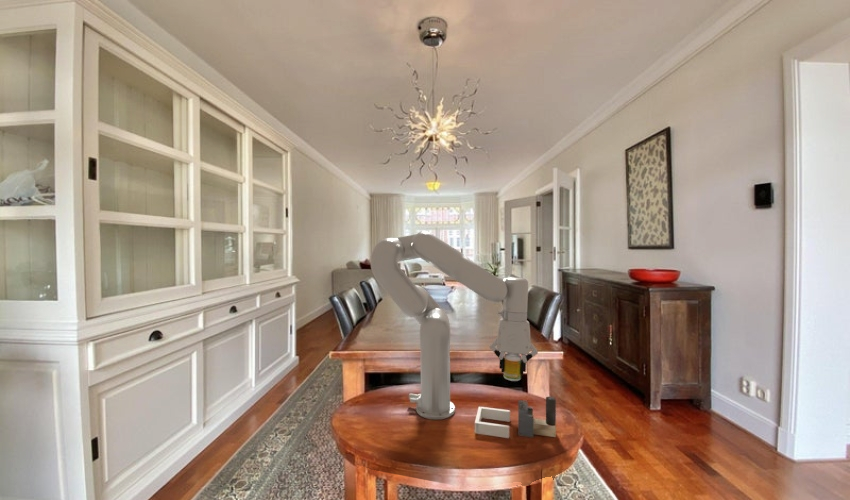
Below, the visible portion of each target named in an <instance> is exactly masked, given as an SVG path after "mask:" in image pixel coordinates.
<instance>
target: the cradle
mask: <svg viewBox="0 0 850 500" xmlns="http://www.w3.org/2000/svg"><path fill="white" fill-rule="evenodd" d="M483 419H485V420H486V419H487V420H495V421H500V422H511V410H510V409H509V410H508V409H503V408H493V407H486V406H478V408H477V413H476V416H475V420H474V434H476V435H477V434H478V435H485V436H490V437H491V436H492V437H497V438H498V437H500V438H503V439H504V438H505V439H510V425H508V424H507V425H506V424H499V423H492V422H487V421H486V422H485V421H482V420H483Z"/></svg>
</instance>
